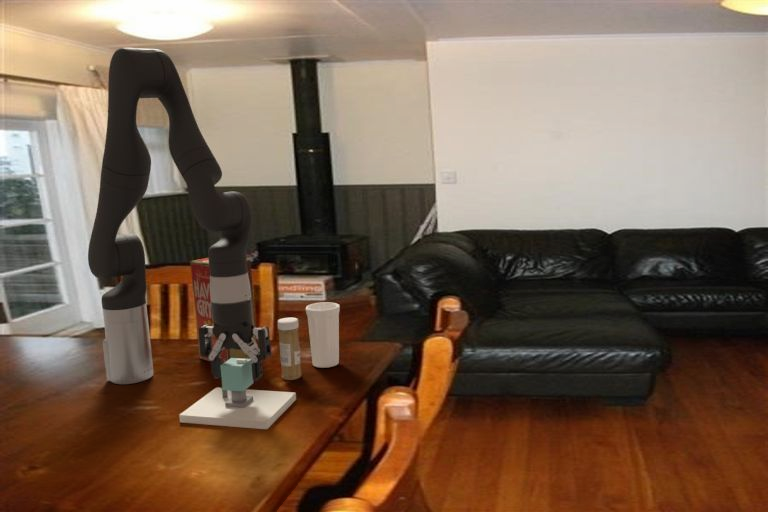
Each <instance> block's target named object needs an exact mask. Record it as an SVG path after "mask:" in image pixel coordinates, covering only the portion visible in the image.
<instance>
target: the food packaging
mask: <svg viewBox="0 0 768 512" xmlns="http://www.w3.org/2000/svg"><path fill="white" fill-rule="evenodd" d="M189 265H190V272H191V283H192V292H193V301H194V303H193V304H194V310H195V318H196V319H195V320H196V328H197V330H196V331H197V340H198V352H199V359H201V360H205V361H207V362H210V359H209V358H207V357H202V356H201V355H200V344H199V328H201V327H202V326H204V325H206V324H209V325H210V326H214V322H213V320H212V309H211V297H210V270H209V259H208V257H205V258H201V259H200V258H199V259H198V258H197V259H195V260H190V262H189ZM247 269H248V277H249V282H250V290H251V303H252V316H253V318H252V324H253V326H254V327H255V328H257V326H256V325H257V324H256V314H255V303H254V287H253V274H252V262H251V260H250V259H247ZM252 338H253V340H254V341H255V342H256V344H257V347H258V348H259V345H258V339H257V338H256V335H255V334H254V335H253V337H252ZM216 342H217V338H216V337H215V335H214V334H212V336H211V343H212V350H213V347H214V345H215V344H216ZM248 346H249V344H248ZM249 347H250V346H249ZM219 357H221V361H222V364H223V363H225V362H226V361H228V360H229V359H231V358H243V359H251V358H250V357H249V356H248V355H247V354H245V353H244V351H243V350H242V349H240V350H236V349H233V348H232V349H225V348H224V350H223V351H222V353H221V355H220V356H219Z"/></svg>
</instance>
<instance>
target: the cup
mask: <svg viewBox="0 0 768 512" xmlns="http://www.w3.org/2000/svg"><path fill="white" fill-rule="evenodd" d="M340 306H341V305H340V304H338V303H336V302H330V301H329V302H328V301H326V302H325V301H323V302H322V301H321V302H315V303H314V302H313V303H311V304H308V305H306V307H305V313H306V316H307V317H306V318H307V324H308V326H307V327H308V333H309V342H310V353H311V362H312V366H314V367H316V368H321V369H324V368H331V367H332V368H333V367H336V366H337V365H339V362H340V344H339V343H340V336H339V335H340V332H339V331H340V328H339V327H340V322H339V320H340V319H339V318H340V316H339V315H340V311H341V310H340V308H341V307H340Z"/></svg>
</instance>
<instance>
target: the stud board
mask: <svg viewBox="0 0 768 512" xmlns="http://www.w3.org/2000/svg"><path fill="white" fill-rule="evenodd" d="M296 400H297V394H296V392H291V391H276V390H263V389H262V390H261V389H260V390H259V389H249V388H247V389H246V390H244V391H230V390H223V389H222V387H218V386H217V387H215V388H213V389H212V390H211V391H209V392H208V393H207V394H205V395H204V396H202V397H201V398H200V399H199V400H197V401H196V402H195V403H193V404H192V405H191V406H189V407H188V408H187V409H185V410H184V411H183V412H181V413H179V414H178V415H179V423H184V424H185V423H186V424H197V425H208V426H209V425H210V426H220V427H232V428H233V427H235V428H244V429H245V428H247V429H259V430H268V429H269V428H270V427H271V426H272V425H273V424H274V423H275V422H276V421H277V420H278V419H279V418H280V417H281V416H282V415H283V414H284V413H285V412H286V411H287V410H288V409H289V408H290V407H291V406H292V405H293V403H294V402H295V401H296Z"/></svg>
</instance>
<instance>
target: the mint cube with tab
mask: <svg viewBox="0 0 768 512" xmlns="http://www.w3.org/2000/svg"><path fill="white" fill-rule="evenodd" d="M252 362H253V361H252V360H251V359H243V358H231V359H229V360H228V361H226V362H225V363H223V364H222V365H220V366H221V377H220V378H221V388H222V389H223V390H230V391H244V390H246V389H249V387H250V386H252V385H253V384H254V381H253V377H252V365H251V363H252Z"/></svg>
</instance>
